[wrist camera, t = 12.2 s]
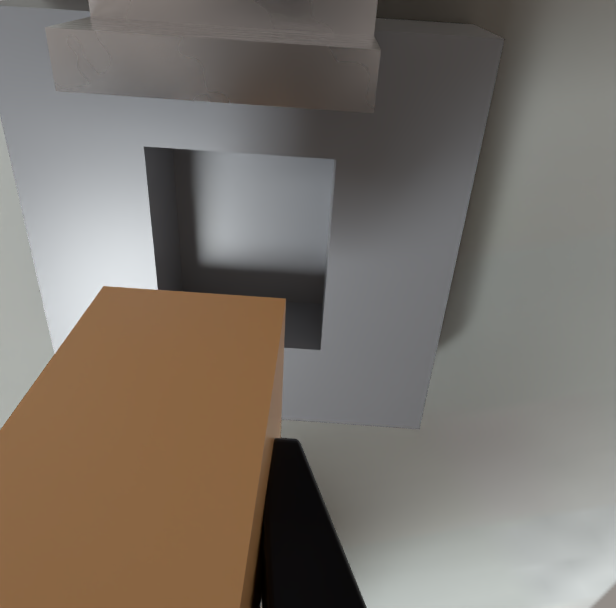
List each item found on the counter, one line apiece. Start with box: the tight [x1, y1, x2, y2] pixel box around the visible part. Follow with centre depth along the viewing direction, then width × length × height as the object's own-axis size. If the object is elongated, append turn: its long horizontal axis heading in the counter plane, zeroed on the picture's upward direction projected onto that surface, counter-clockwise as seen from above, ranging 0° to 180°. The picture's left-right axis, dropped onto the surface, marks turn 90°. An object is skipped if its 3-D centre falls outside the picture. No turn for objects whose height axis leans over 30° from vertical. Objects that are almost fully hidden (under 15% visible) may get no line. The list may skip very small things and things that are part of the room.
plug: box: [0, 286, 286, 608], centre depth 7 cm, size 4×3×8 cm
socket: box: [0, 0, 505, 429], centre depth 16 cm, size 11×11×3 cm
